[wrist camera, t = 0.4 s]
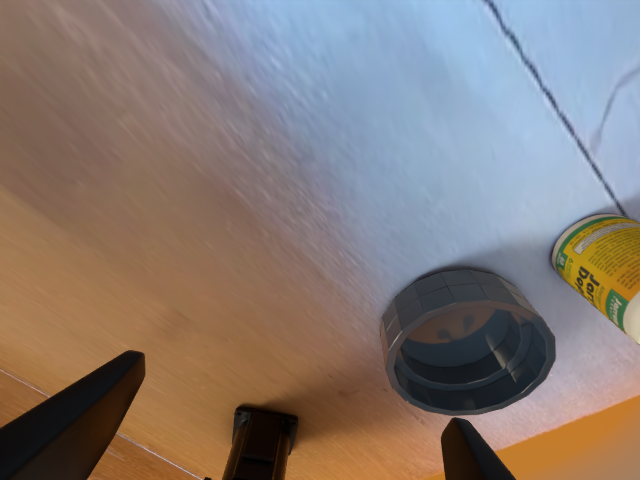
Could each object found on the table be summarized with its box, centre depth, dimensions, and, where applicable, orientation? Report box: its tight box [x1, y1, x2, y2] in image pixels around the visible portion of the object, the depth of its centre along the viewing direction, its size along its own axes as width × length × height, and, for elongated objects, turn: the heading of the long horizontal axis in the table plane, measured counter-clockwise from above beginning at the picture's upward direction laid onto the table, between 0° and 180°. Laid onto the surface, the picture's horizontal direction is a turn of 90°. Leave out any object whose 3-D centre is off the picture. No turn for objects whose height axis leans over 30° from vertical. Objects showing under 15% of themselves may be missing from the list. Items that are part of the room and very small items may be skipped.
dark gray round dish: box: [380, 269, 556, 416], centre depth 23 cm, size 11×11×4 cm
